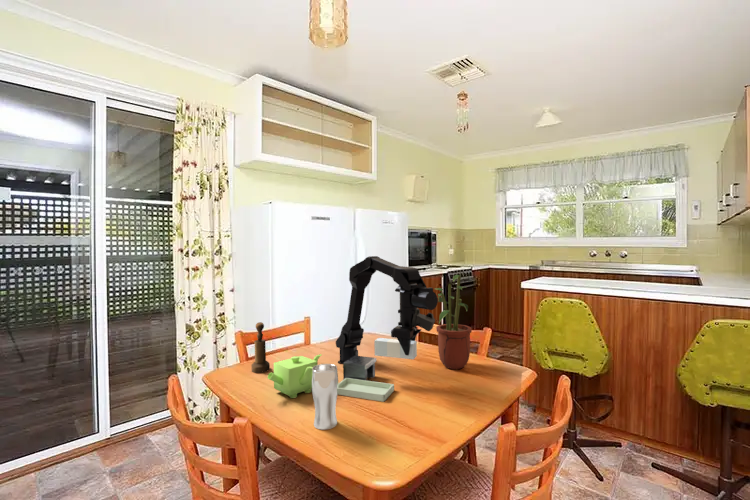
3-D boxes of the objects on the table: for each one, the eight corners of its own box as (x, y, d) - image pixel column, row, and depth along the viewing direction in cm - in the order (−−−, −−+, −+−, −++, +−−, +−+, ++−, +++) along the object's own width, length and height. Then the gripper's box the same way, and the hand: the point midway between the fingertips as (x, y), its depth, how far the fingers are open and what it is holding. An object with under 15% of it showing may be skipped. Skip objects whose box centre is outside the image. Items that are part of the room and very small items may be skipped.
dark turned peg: (247, 371, 141) (246, 323, 141) (259, 366, 147) (258, 320, 147) (262, 373, 139) (261, 324, 138) (273, 368, 145) (272, 321, 144)
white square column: (374, 355, 128) (374, 340, 128) (378, 352, 131) (378, 337, 131) (413, 359, 123) (413, 344, 123) (416, 356, 126) (416, 341, 126)
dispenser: (343, 382, 130) (343, 362, 130) (354, 373, 138) (354, 355, 138) (366, 385, 126) (366, 365, 126) (376, 376, 135) (376, 357, 135)
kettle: (322, 382, 129) (321, 350, 129) (317, 400, 115) (316, 363, 115) (278, 383, 129) (277, 350, 129) (267, 401, 115) (266, 364, 114)
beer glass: (313, 418, 103) (312, 363, 103) (339, 417, 104) (338, 362, 103) (311, 431, 96) (310, 372, 96) (338, 430, 97) (337, 371, 96)
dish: (333, 393, 120) (332, 387, 120) (346, 383, 128) (345, 377, 128) (384, 401, 113) (384, 395, 113) (394, 390, 122) (394, 384, 122)
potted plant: (478, 366, 144) (478, 274, 143) (455, 377, 133) (454, 277, 133) (440, 356, 157) (440, 272, 156) (416, 365, 146) (415, 274, 145)
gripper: (425, 312, 113) (426, 364, 114) (438, 303, 131) (439, 348, 131) (390, 310, 118) (390, 360, 118) (407, 301, 135) (408, 345, 135)
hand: (409, 353), depth 125 cm, fingers closed on white square column, 4 cm apart
